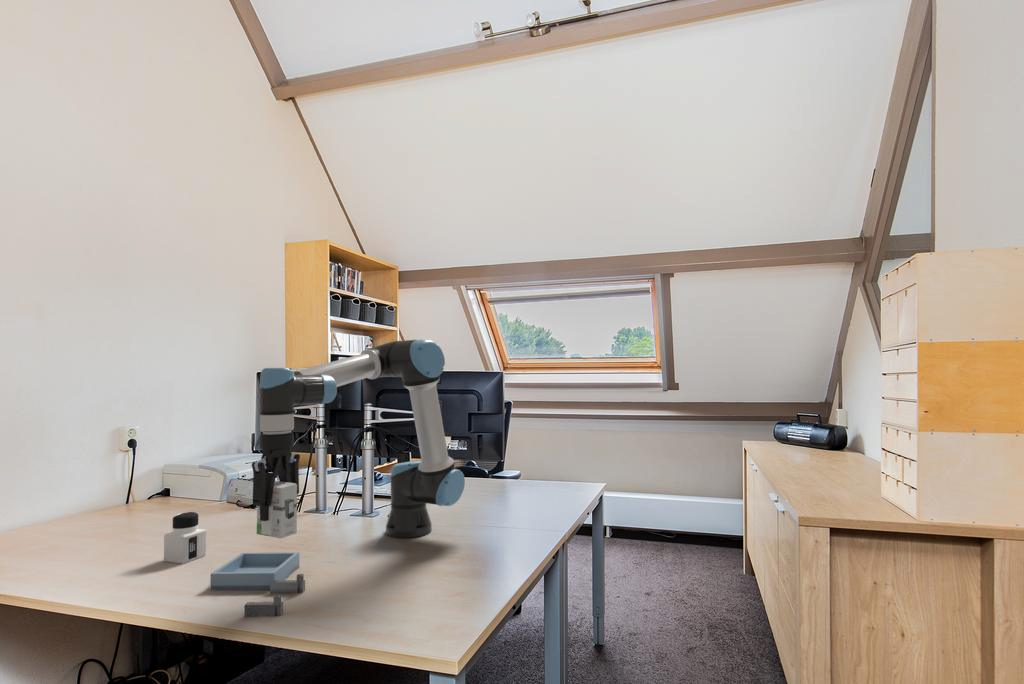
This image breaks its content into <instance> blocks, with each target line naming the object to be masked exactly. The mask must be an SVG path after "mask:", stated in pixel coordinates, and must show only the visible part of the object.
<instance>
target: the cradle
mask: <svg viewBox="0 0 1024 684" xmlns="http://www.w3.org/2000/svg"><path fill="white" fill-rule="evenodd" d="M304 577H305V576H304V573H299V574H296V579H293V580H292V579H290V580H289V579H287V580H286V579H285V580H273V581H272V582H271V583H270V591H269V592H270V594H277V595H274V596H273V601H251V602H250V601H248V602H246V603H245V604H244V615H243V616H244V617H282V615H283V614H284V601H282V595H281V594H302V593H304V592H305V591H306V579H305V578H304Z"/></svg>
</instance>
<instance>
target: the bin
mask: <svg viewBox="0 0 1024 684" xmlns="http://www.w3.org/2000/svg"><path fill="white" fill-rule="evenodd" d="M298 569H300V551H291V552H289V551H288V552H287V551H285V552H284V551H279V552H277V551H274V552H273V551H272V552H271V551H270V552H269V551H268V552H241V553H239V554H238V555H236V556H235V557H233V558H232V559H231V560H229V561H228V562H226V563H224V564H223V565H221V566H220V567H218V568H217V569H215V570H214V571H212V572H211V573H210V591H243V590H244V591H248V590H249V591H251V590H253V591H255V590H256V591H257V590H258V591H259V590H260V591H261V590H262V591H263V590H270V583H271V582H272V581H273V580H286V579H288V578H289V577H290V576H291V575H292V574H293V573H294V572H295V571H297V570H298Z"/></svg>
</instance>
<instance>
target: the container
mask: <svg viewBox="0 0 1024 684" xmlns="http://www.w3.org/2000/svg"><path fill="white" fill-rule="evenodd" d="M163 539H164V540H163V561H164V562H167V563H175V564H182V565H184V564H187V563H190V562H192V561H195V560H198V559H200V558H202V557H205V556H206V555H207V554H206V551H207V548H206V547H207V530H206V529H204V528H203V529H202V528H199V513H198V512H195V511H186V512H180V513H177V514H175V515H173V516H172V531H171V532H168V533H165V534H164V535H163Z"/></svg>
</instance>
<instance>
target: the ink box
mask: <svg viewBox="0 0 1024 684" xmlns="http://www.w3.org/2000/svg"><path fill="white" fill-rule="evenodd" d="M265 501H266V500H265ZM270 506H273V534H272V535H265V534H261V520H260V506H256V535H260V536H265V537H271V538H274V539H275V538H277V539H284V538H286V537H289V536H292V535H295V534H297V532H298V531H297V528H298V527H297V526H298V525H297V523H298V522H297V521H298V520H297V517H298V516H297V515H298V513H297V512H298V495H297V484H295V483H288V482H280V481H279V480H275V484H274V487H273V494H272V499H271V504H270Z"/></svg>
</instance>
